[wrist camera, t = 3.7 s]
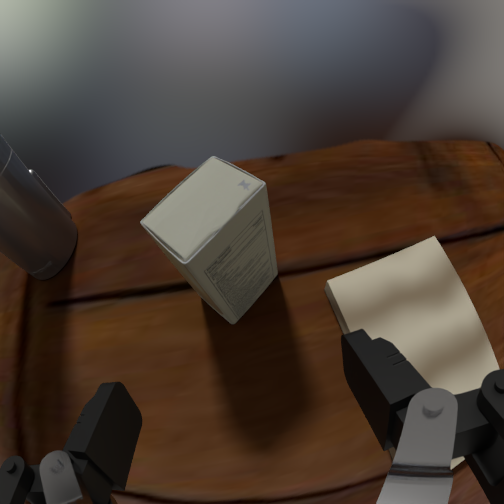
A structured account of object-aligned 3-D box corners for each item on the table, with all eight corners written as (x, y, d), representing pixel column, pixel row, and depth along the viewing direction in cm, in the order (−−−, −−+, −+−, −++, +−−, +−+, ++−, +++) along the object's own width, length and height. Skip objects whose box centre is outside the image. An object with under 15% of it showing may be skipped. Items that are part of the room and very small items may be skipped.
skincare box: (243, 248, 27) (216, 150, 17) (279, 274, 26) (271, 178, 15) (196, 298, 25) (135, 220, 15) (231, 329, 24) (183, 264, 13)
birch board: (324, 289, 24) (327, 280, 23) (427, 246, 25) (434, 235, 23) (402, 489, 14) (410, 495, 13) (500, 416, 15) (513, 415, 13)
